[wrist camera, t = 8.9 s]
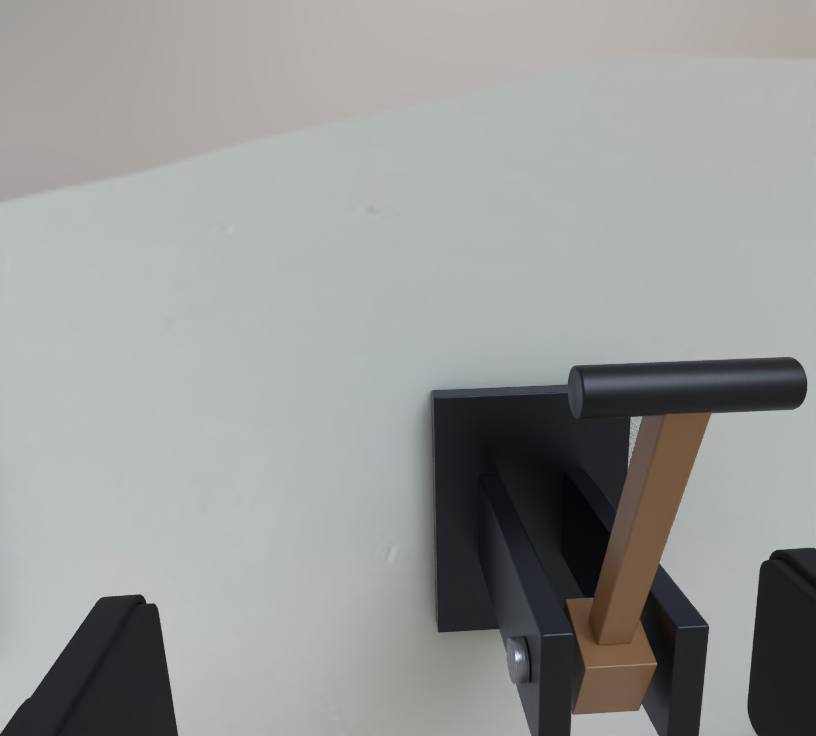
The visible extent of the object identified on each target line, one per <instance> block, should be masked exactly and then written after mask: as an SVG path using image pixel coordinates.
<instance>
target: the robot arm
mask: <svg viewBox="0 0 816 736" xmlns="http://www.w3.org/2000/svg"><path fill="white" fill-rule="evenodd" d="M748 715H749V718H750V722H751V724H752V727H753V729H754V730H755V732H756V734H757V735H758V736H816V549H815V548H800V549H786V550H776V551H774V552H772V554H771V556H770V558H769V560H766V561H764V562H763V563H762V565H761V568H760V574H759V585H758V596H757V607H756V617H755V628H754V639H753V650H752V661H751V671H750V682H749V693H748ZM0 736H178V732H177V726H176V719H175V713H174V707H173V700H172V694H171V688H170V681H169V675H168V669H167V662H166V656H165V650H164V643H163V637H162V631H161V624H160V618H159V612H158V608H157V606H156V605H155V604H154V603H153V604H146V600H145V599H144V597H143V596H142V595H140V594H139V595H125V596H111V597H103V598H100V599H99V600H98V601H97V603H96V604H95V606H94V607H93V608H92V610H91V611H90V613H89V614H88V616H87V617H86V619H85V620H84V621H83V623H82V624H81V626H80V627H79V629H78V630H77V631H76V633H75V634H74V636H73V637H72V639H71V640H70V642H69V643H68V644H67V646H66V647H65V649H64V650H63V652H62V653H61V654H60V656H59V657H58V659H57V660H56V662H55V663H54V664H53V666H52V667H51V669H50V670H49V672H48V673H47V675H46V676H45V677H44V679H43V680H42V682H41V683H40V685H39V686H38V687H37V689H36V690H35V692H34V693H33V695H32V696H31V697H30V698H28V699H27V700H26V701H25V702H24V703H23V704H22V705H21V706H20V707H19V708H18V710H17V711H16V713H15V714H14V716H13V717H12V718H11V720H10V721H9V723H8V724H7V725H6V727H5V728H4V730H3V731H2V733H1V734H0Z"/></svg>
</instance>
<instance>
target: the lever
mask: <svg viewBox="0 0 816 736" xmlns="http://www.w3.org/2000/svg"><path fill="white" fill-rule="evenodd" d="M806 393H807V378H806V374H805V371H804V369H803V367H802V365H801V364H800V363H799V362H798V361H797V360H796V359H794V358H791V357H778V358H753V359H728V360H703V361H678V362H653V363H628V364H604V365H579V366H574V367H572V369H571V371H570V374H569V379H568V399H569V405H570V408H571V411H572V414H573V416H574V417H575V418H577V419H589V418H612V417H635V416H643V417H642V420H641V424H640V428H639V431H638V435H637V439H636V443H635V446H634V450H633V454H632V458H631V461H630V465H629V469H628V472H627V476H626V480H625V484H624V487H623V491H622V495H621V499H620V502H619V506H618V510H617V513H616V517H615V521H614V525H613V528H612V532H611V536H610V540H609V543H608V547H607V551H606V554H605V558H604V562H603V566H602V569H601V573H600V577H599V581H598V584H597V588H596V592H595V595H594V598H578V599H566V600H565V604H564V609H563V611H564V613H565V615H566V618H567V620H568V622H569V624H570V626H571V628H572V630H573V632H574V653H573V679H572V705H571V711H572V714H573V715H576V714H592V713H607V712H623V711H638V710H639V708H640V706H641V703H642V701H643V698H644V696H645V694H646V691H647V689H648V686H649V684H650V681H651V679H652V676H653V674H654V671H655V669H656V666H657V662H656V660H655V657H654V654H653V652H652V649H651V647H650V644H649V641H648V639H647V636H646V633H645V631H644V628H643V626H642V623H641V620H640V617H641V614H642V611H643V608H644V605H645V602H646V599H647V596H648V594H649V591H650V588H651V585H652V582H653V579H654V576H655V573H656V571H657V568H658V565H659V562H660V559H661V556H662V553H663V550H664V548H665V545H666V542H667V539H668V536H669V533H670V530H671V527H672V525H673V522H674V519H675V516H676V513H677V510H678V507H679V504H680V502H681V499H682V496H683V493H684V490H685V487H686V484H687V481H688V479H689V476H690V473H691V470H692V467H693V464H694V461H695V458H696V456H697V453H698V450H699V447H700V444H701V441H702V438H703V435H704V433H705V430H706V427H707V424H708V421H709V418H710V415H711V413H727V412H749V411H772V410H793V409H796V408H798V407H799V406H800V405H801V404H802V403H803V401H804V399H805V397H806Z"/></svg>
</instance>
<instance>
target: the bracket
mask: <svg viewBox="0 0 816 736" xmlns="http://www.w3.org/2000/svg"><path fill="white" fill-rule="evenodd" d="M431 399H432V449H433V500H434V550H435V600H436V622H437V628H438V632H454V631H471V630H489V629H500V632H501V636H502V639H503V642H504V646H505V649H506V652H507V662H508V669H509V674H510V678H511V680H512V682H513V684H516V686H517V689H518V693H519V696H520V699H521V703H522V706H523V709H524V713H525V716H526V719H527V723H528V726H529V729H530V733H531V736H570V731H571V705H572V679H573V653H574V632H573V630H572V628H571V626H570V624H569V622H568V620H567V618H566V615H565V613H564V611H563V609H564V604H565V600H566V599H578V598H594V595H595V592H596V588H597V584H598V581H599V577H600V573H601V569H602V566H603V562H604V558H605V554H606V551H607V547H608V543H609V540H610V536H611V532H612V528H613V525H614V521H615V517H616V513H617V510H618V506H619V502H620V499H621V495H622V491H623V487H624V484H625V480H626V476H627V471H628V453H629V436H630V418H631V417H612V418H589V419H577V418H575V417H574V416H573V414H572V411H571V408H570V405H569V399H568V385H553V386H529V387H505V388H481V389H456V390H433V391H432V392H431ZM640 620H641V623H642V626H643V628H644V631H645V633H646V636H647V639H648V641H649V644H650V647H651V649H652V652H653V654H654V657H655V660H656V662H657V666H656V669H655V671H654V674H653V676H652V679H651V681H650V684H649V686H648V689H647V691H646V694H645V696H644V698H643V701H642V705H643V707H644V709H645V711H646V713H647V714H648V716H649V718H650V720H651V722H652V724H653V726H654V727H655V729H656V731H657V733H658V735H659V736H699V727H700V716H701V706H702V695H703V685H704V674H705V664H706V653H707V643H708V632H709V625H708V624H707V622H706V621H705V620H704V619H703V617H702V616H701V615H700V614H699V612H698V611H697V610H696V609H695V607H694V606H693V605H692V604H691V602H690V601H689V600H688V599H687V597H686V596H685V595H684V594H683V592H682V591H681V590H680V589H679V587H678V586H677V585H676V584H675V582H674V581H673V580H672V579H671V577H670V576H669V575H668V574H667V572H666V571H665V570H664V569H663V567H662V566H661V565H660V564H659V565H658V568H657V571H656V573H655V576H654V579H653V582H652V585H651V588H650V591H649V594H648V596H647V599H646V602H645V605H644V608H643V611H642V614H641V617H640Z"/></svg>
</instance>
